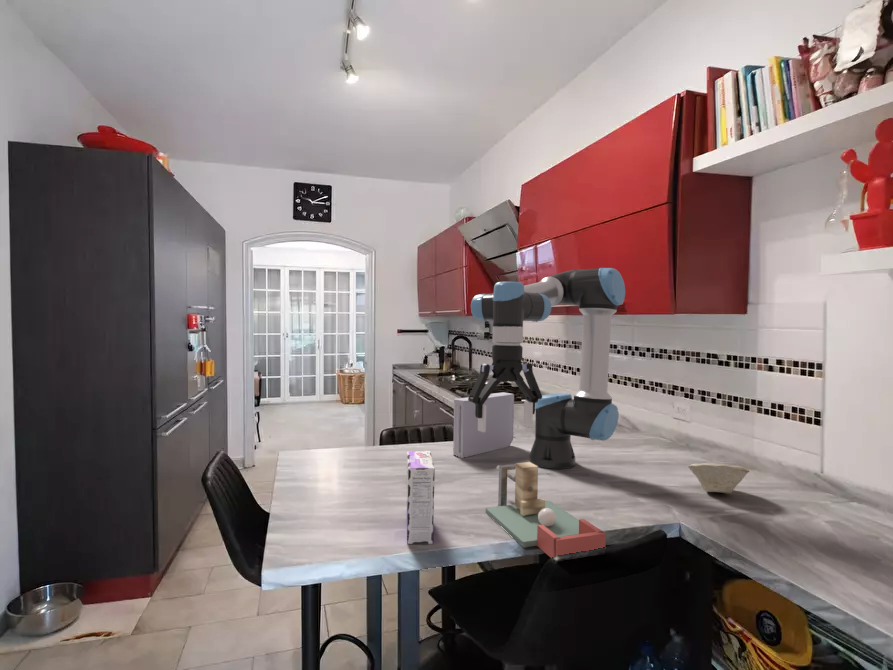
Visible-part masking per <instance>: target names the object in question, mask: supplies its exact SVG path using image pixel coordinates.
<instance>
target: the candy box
mask: <svg viewBox="0 0 893 670" xmlns="http://www.w3.org/2000/svg"><path fill="white" fill-rule="evenodd" d="M435 469H436V468H435V466H434V459H433V456H432V452H431V450H417V451H416V450H414V451H413V450H410V451H409V450H408V451H407V452H406V491H407V492H406V544H407V545H433V544H434V515H435V514H434V512H435V508H434V505H435V504H434V503H435V479H436V477H435V475H436V474H435V473H436V471H435Z"/></svg>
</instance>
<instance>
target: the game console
mask: <svg viewBox="0 0 893 670" xmlns="http://www.w3.org/2000/svg"><path fill="white" fill-rule="evenodd" d="M468 398H469V396H467V397H461V398H454V399H453V444H452V445H453V446H452V451H453V453H452V454H453V456H454V455H456V456H455V457H457V456H458V458H462V459H463V458H464V457H465V458H468V457H473V456H475V455H480V454H484V453H485V454H486V453H489V452H492V451H496V450H501V449H505V448H509V447H510V446H511V445H512V442H513V440H514V421H515V420H514V419H515V417H514V413H515V411H514V410H515V394H514V393H509V392H504V391H503V392H496V393H491V394H490V396H489V397H488V398H487V400H486V401H485V402H484V404H483V405H486V432H481V431H478V418H477V417H476V416H475V403H473V402H470V401H469V400H468Z"/></svg>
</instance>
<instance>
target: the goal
mask: <svg viewBox="0 0 893 670" xmlns="http://www.w3.org/2000/svg"><path fill="white" fill-rule="evenodd" d="M578 520H579V534H577V535H571V536H564V537H558V536H557V535H556V534H554V533H553V532H552V531H550V530H549V529H548V528H546V527H545V526H544V525H543V524H542V525H537V546H536V547H537V548H539V549H540V550H541V551H543V552H544V553H545V554H546V556H548V557H549V558H550V559H552V557H555V556H558V555H564V554H569V553H576V552H581V551H589V550H594V549H598V548H603V547H605V548H606V545H607V544H606V543H607V542H606V540H607V539H606V537H607V533H606V532H605V531H603V530H602V529H600V528H598V527H597V526H596V525H593V523H591V522H590V521H588V520H586V519H584V518H581V519H578Z"/></svg>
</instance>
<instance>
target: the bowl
mask: <svg viewBox="0 0 893 670" xmlns="http://www.w3.org/2000/svg"><path fill="white" fill-rule="evenodd" d="M688 469H690V471H691V472H692V474H693V475H694V476H695V477H696V479H697V480H698V482H699V484H700V485H701V488H702V489H703V490H704V491H705V492H706V493H721V494H732V493H733V491H734V490H735V488H736V487H737V486H738V485H739V484H740V483H741V482H742V481H743V479H745V477H746V476H747V474H748V473H750V469H749V468H747V467H746V466H742V465H733V464H727V463H715V462H714V463H713V462H712V463H711V462H703V463H692V464H690V465H689V466H688Z"/></svg>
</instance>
